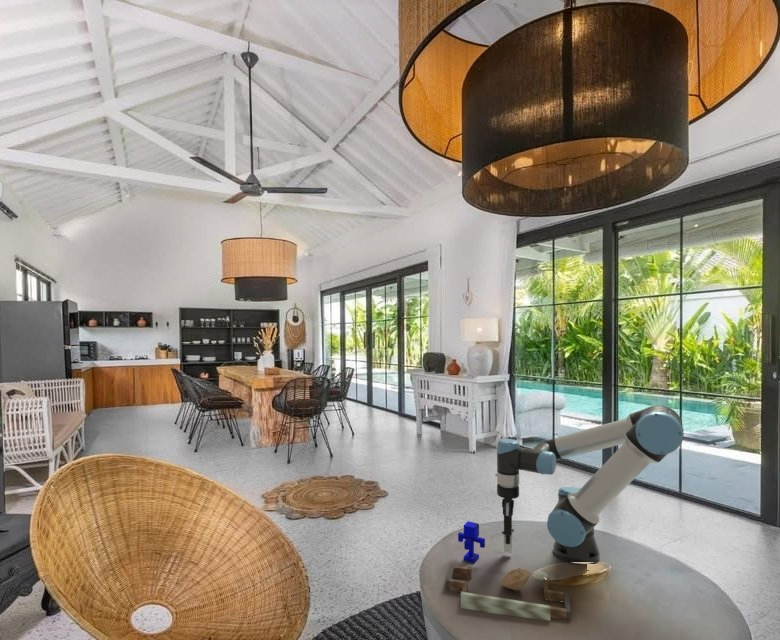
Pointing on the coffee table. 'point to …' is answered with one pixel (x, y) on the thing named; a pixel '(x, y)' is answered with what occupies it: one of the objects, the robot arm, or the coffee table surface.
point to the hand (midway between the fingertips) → (508, 551)
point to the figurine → (471, 540)
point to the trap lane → (503, 604)
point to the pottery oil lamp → (515, 579)
